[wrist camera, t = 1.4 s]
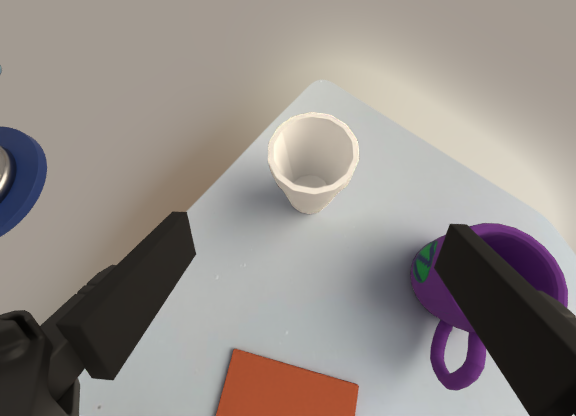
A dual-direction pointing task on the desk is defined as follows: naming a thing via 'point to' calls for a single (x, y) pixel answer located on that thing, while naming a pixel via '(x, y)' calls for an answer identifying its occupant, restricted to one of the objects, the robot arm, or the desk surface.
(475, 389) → the desk surface
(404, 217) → the desk surface
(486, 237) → the mug
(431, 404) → the desk surface
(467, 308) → the robot arm
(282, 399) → the mat
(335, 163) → the foam cup
